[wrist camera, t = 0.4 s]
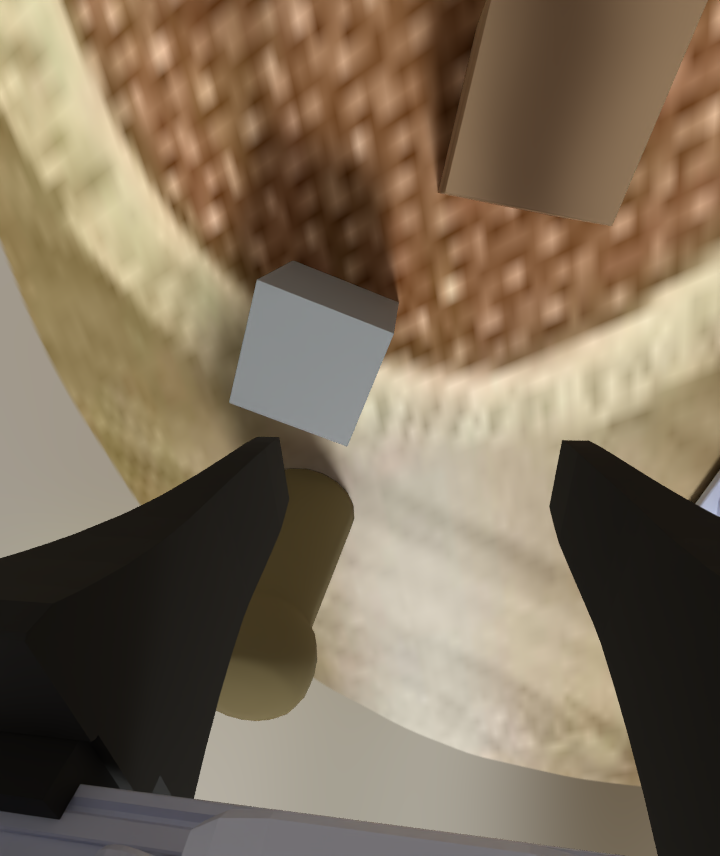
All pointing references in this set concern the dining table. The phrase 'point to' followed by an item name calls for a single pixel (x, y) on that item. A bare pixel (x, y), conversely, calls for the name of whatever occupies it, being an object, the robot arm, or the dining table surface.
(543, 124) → the walnut block
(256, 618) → the olive brown rounded piece
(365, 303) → the slate grey block
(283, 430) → the dining table surface
